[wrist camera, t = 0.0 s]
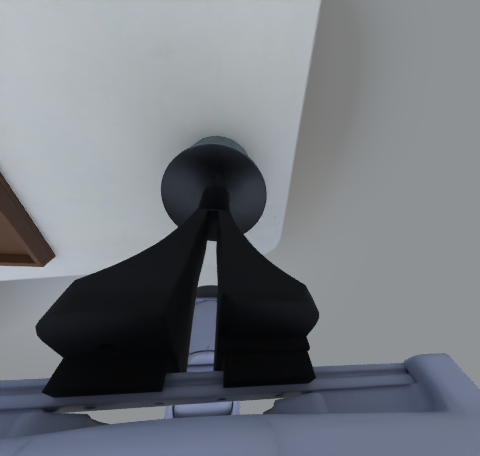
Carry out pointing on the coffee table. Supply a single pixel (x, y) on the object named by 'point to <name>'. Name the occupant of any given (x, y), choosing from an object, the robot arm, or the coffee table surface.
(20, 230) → the tray
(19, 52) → the coffee table surface
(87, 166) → the coffee table surface
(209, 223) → the lid
